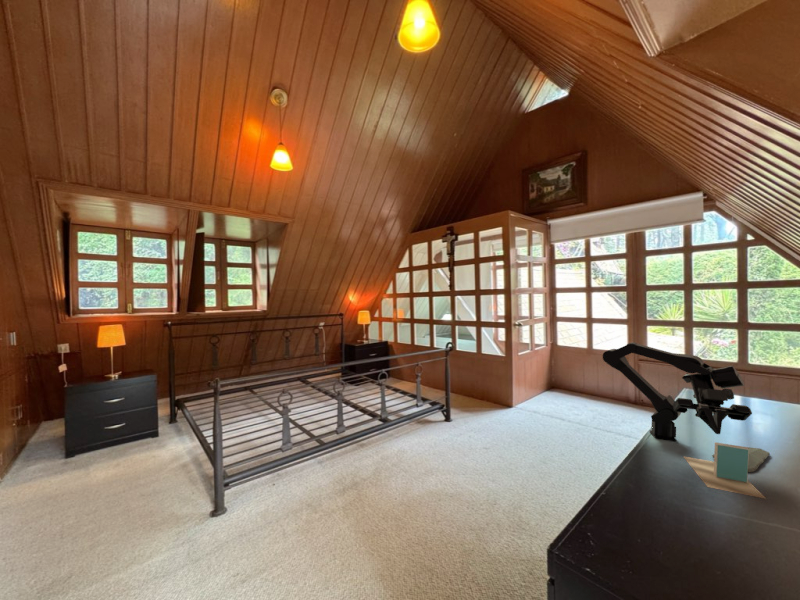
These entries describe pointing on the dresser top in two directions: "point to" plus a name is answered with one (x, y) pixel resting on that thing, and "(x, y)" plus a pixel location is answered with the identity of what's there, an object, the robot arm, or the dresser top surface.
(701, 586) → the dresser top surface
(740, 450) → the glazed tile
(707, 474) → the tan wooden board
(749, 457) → the stone slab
